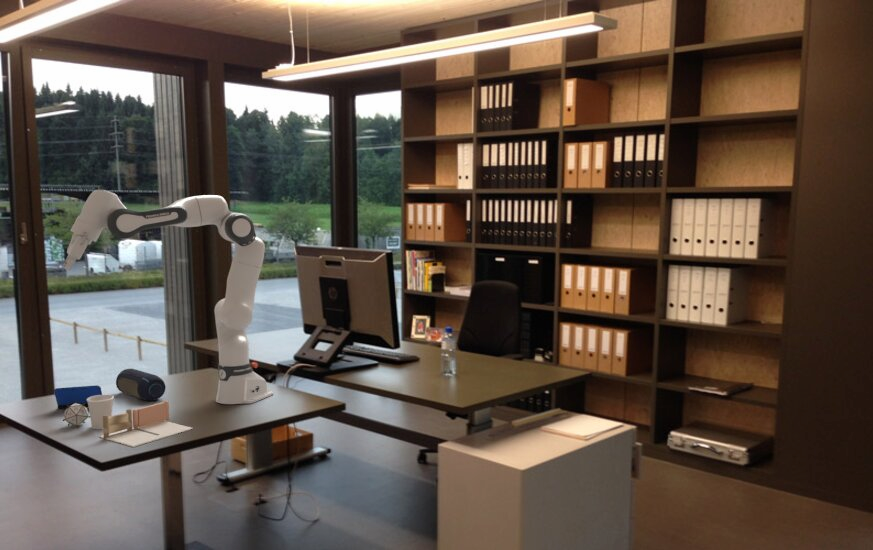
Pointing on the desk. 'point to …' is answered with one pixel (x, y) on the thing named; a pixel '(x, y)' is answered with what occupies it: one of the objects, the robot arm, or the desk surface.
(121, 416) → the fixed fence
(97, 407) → the dixie cup
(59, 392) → the handheld game console
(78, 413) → the game die
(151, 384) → the portable speaker
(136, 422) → the fence gate
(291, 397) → the desk surface
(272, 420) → the desk surface
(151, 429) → the card
